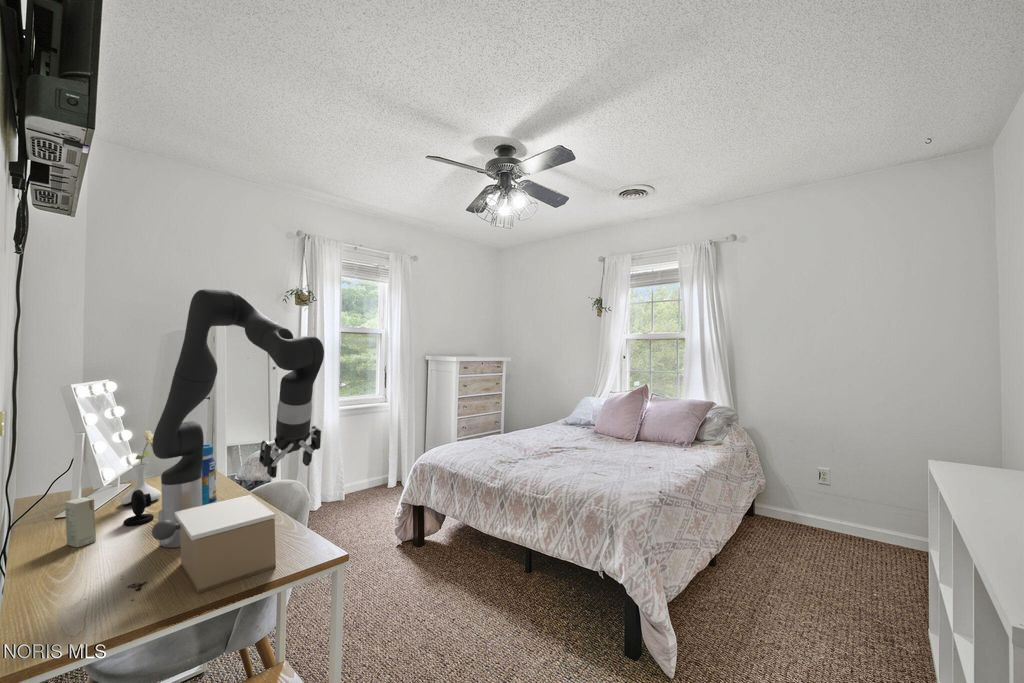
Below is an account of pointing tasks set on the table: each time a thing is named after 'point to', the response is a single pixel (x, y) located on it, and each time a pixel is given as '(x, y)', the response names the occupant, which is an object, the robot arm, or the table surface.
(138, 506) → the webcam
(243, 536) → the carton
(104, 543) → the table surface
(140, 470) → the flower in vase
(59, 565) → the table surface
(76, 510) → the skincare box
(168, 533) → the white box lid
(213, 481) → the beverage bottle
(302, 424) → the robot arm
